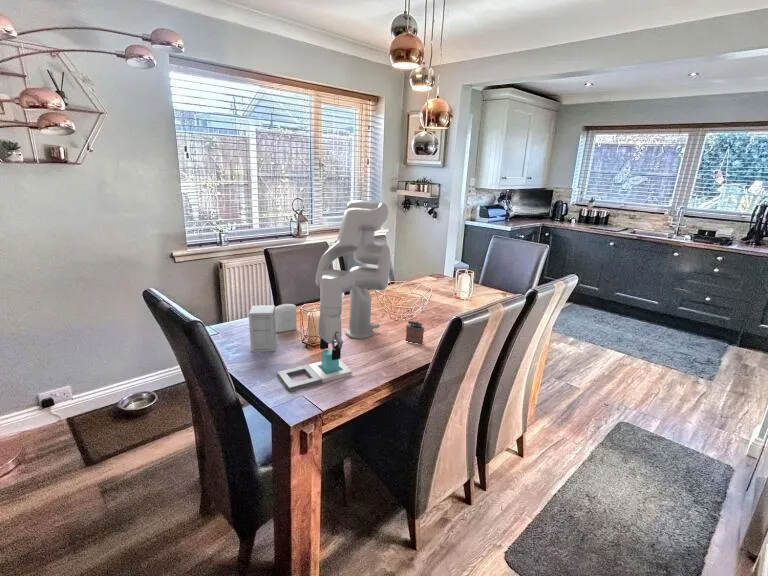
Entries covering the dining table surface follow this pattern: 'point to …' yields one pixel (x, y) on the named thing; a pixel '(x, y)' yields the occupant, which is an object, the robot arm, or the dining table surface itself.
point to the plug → (329, 362)
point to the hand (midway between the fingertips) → (329, 353)
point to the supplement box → (262, 328)
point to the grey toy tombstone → (285, 317)
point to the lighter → (414, 332)
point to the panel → (311, 375)
